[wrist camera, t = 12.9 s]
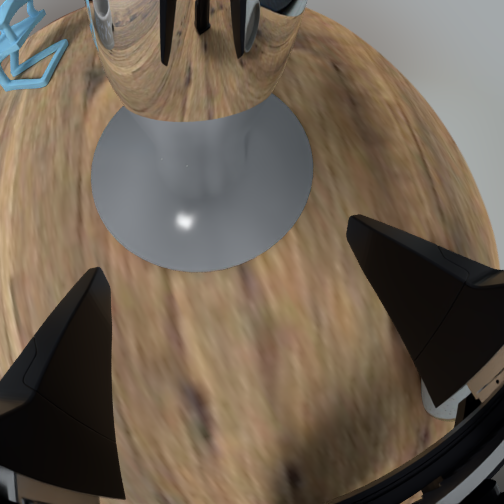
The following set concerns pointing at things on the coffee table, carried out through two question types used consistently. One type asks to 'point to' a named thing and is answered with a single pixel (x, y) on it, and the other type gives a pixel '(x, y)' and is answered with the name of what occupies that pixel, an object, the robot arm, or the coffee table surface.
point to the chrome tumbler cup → (195, 77)
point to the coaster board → (207, 209)
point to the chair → (15, 39)
